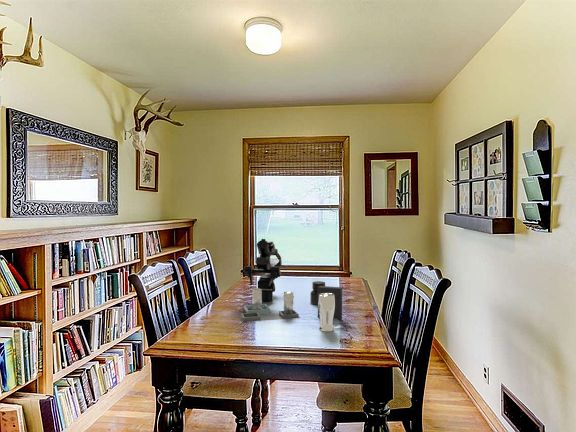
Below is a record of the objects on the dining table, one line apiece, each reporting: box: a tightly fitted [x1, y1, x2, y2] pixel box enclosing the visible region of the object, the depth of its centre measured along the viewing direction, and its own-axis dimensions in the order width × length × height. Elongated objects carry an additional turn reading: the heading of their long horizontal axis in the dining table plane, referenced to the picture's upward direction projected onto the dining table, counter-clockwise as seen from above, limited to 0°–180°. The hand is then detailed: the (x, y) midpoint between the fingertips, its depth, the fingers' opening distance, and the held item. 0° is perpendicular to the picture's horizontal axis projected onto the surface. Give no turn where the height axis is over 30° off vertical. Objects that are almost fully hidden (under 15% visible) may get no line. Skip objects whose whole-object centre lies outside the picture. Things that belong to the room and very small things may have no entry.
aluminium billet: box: [251, 287, 263, 310], centre depth 201 cm, size 4×4×11 cm
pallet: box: [239, 309, 301, 323], centre depth 190 cm, size 27×10×2 cm, turn 104°
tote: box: [243, 303, 272, 315], centre depth 201 cm, size 11×11×3 cm
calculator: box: [317, 285, 343, 322], centre depth 190 cm, size 11×4×15 cm, turn 71°
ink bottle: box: [309, 280, 326, 306], centre depth 218 cm, size 10×9×12 cm
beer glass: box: [317, 293, 335, 333], centre depth 174 cm, size 7×7×15 cm
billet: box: [283, 290, 294, 315], centre depth 193 cm, size 4×4×11 cm
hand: (259, 285), depth 207 cm, fingers open, 9 cm apart
